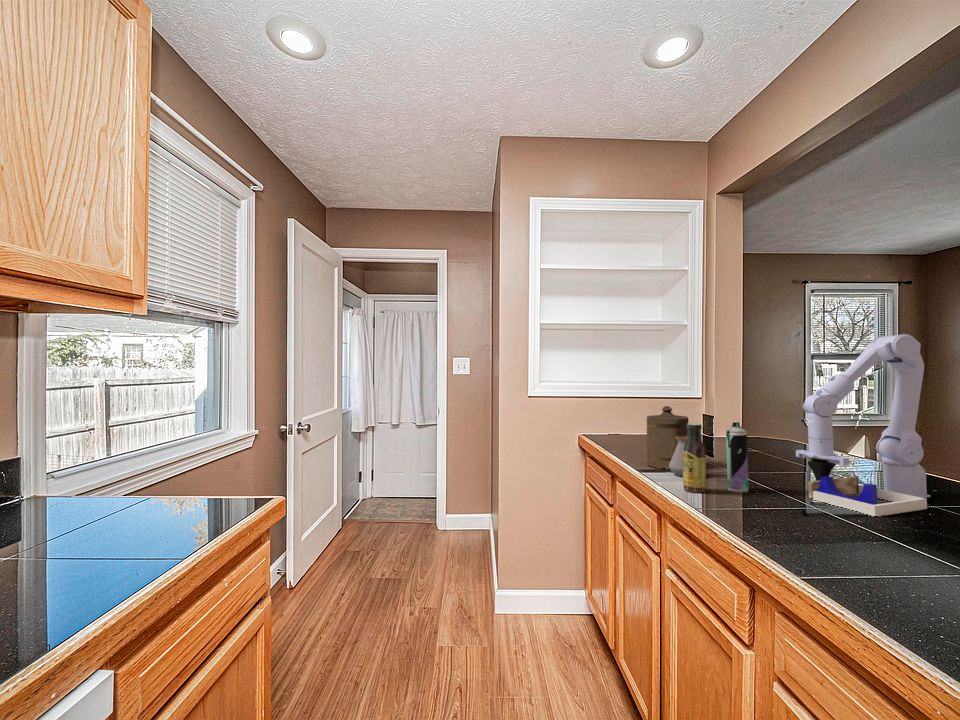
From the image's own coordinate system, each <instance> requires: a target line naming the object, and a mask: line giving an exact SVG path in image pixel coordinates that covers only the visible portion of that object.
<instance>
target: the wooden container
mask: <svg viewBox="0 0 960 720" xmlns="http://www.w3.org/2000/svg"><path fill="white" fill-rule="evenodd" d="M661 411H662V413H660V414H655V415H647V416H646V461H647V463H646V464H647V466H648V465H649V466H648V467H650V466H652V467H651V468H653V467H656V468H655V469H658V468H665V469H664V470H669V469H670V468H669V464H670V461H671V459H672V457H673V454H674V452H675V449H676V447H677V445H678V441H677V440H676V438H675V437H677V436H687V424H688V423H689V417H688V416H685V415H675V414H674V413H673V412H672V411H673V408H672V407H670V406H669V405H668V406H665V405H664V406H663V407H662V410H661Z"/></svg>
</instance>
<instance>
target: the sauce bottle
mask: <svg viewBox="0 0 960 720" xmlns="http://www.w3.org/2000/svg"><path fill="white" fill-rule="evenodd" d="M706 460H707V456H706V446H705V445H704V442H703V441H702V423H698V422H697V423H696V422H688V424H687V440H686V443H685V446H684V449H683V477H682V483H683V489H684V490H685V491H686V492H689V493H704V492H706V490H707V489H706V486H707V478H706V477H707V475H706V474H707V471H706V470H707V469H706V468H707V462H706Z"/></svg>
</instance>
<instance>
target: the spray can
mask: <svg viewBox="0 0 960 720" xmlns="http://www.w3.org/2000/svg"><path fill="white" fill-rule="evenodd" d="M725 431H726V432H725V438H726V439H725V441H726V443H725V444H726V445H725V447H726V467H727V468H726V471H727V472H726V473H727V475H726V476H727V477H726V478H727V489H728V490H727V491H729V492H734V493H748V492H749V490H750V489H749V466H748V462H749V460H748V459H749V458H748V455H749V454H748V433H747V430H746V429H744V428H743V427H742V426H741V425H740V422H737V421H736V422H734V421H733V422H732V425H731V426H730V427H729V428H728V429H726V430H725Z"/></svg>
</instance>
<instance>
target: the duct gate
mask: <svg viewBox="0 0 960 720" xmlns="http://www.w3.org/2000/svg"><path fill="white" fill-rule="evenodd" d="M833 482H834V484H835V486H836V488H837V489H838V490H839V491H840V492H841V493H842V494H844V495H846V494H848V495H855V494H854V493H857V487H856V478H855V477H854V476H850V477H839V478H833ZM807 485H808V498H809V499H811V498H813V491H817V489H821V486H820V481H816V480H812V481H808V483H807ZM846 496H847V495H846Z"/></svg>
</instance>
